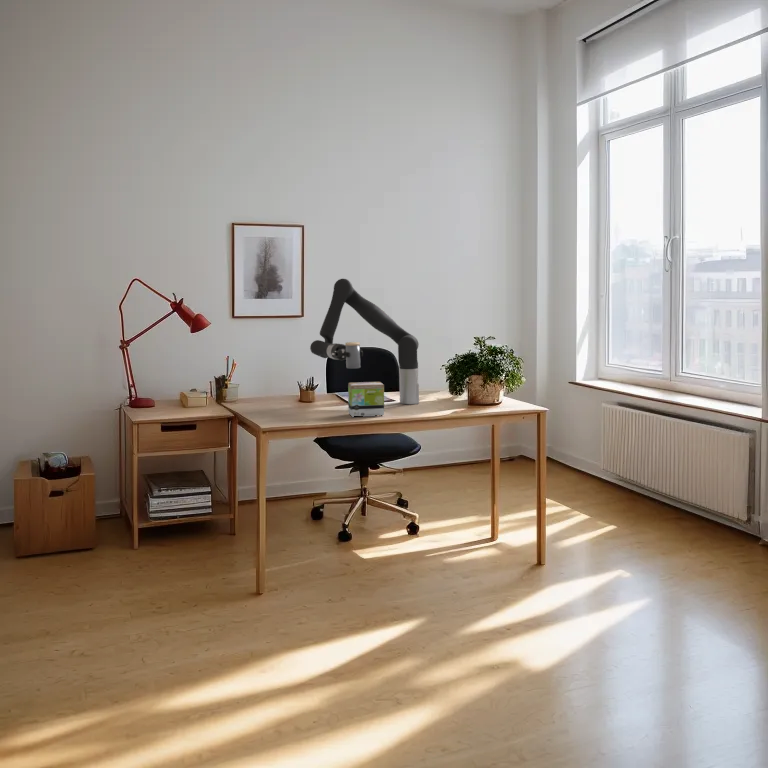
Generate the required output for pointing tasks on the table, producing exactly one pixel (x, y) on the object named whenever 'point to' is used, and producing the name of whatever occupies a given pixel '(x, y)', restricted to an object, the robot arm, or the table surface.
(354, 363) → the canister
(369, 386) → the tea box
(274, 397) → the table surface
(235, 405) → the table surface
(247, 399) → the table surface
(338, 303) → the robot arm
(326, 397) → the table surface
